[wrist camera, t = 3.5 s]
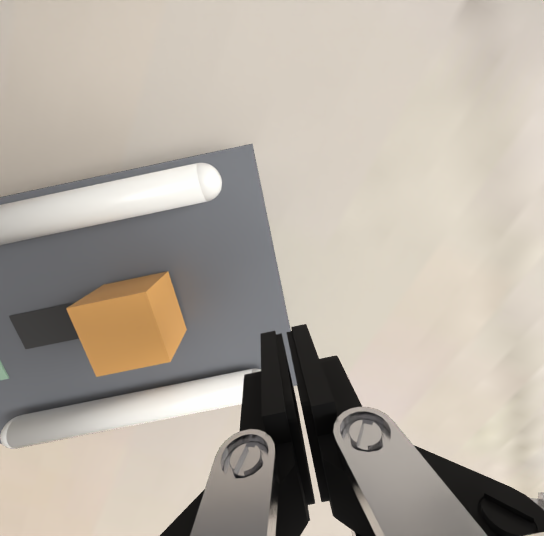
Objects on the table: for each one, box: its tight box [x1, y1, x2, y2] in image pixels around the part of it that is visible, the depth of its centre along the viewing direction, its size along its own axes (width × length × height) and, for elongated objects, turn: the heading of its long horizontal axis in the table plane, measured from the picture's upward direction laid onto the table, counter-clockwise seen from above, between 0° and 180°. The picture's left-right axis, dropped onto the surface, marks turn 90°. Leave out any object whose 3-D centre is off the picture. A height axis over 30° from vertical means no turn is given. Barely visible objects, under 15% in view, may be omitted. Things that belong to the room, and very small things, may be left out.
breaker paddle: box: [66, 271, 187, 377], centre depth 16 cm, size 4×4×4 cm
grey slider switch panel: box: [0, 144, 297, 444], centre depth 21 cm, size 22×16×6 cm
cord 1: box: [0, 163, 222, 245], centre depth 15 cm, size 18×2×2 cm, turn 101°
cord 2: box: [0, 368, 261, 449], centre depth 19 cm, size 18×2×2 cm, turn 101°
